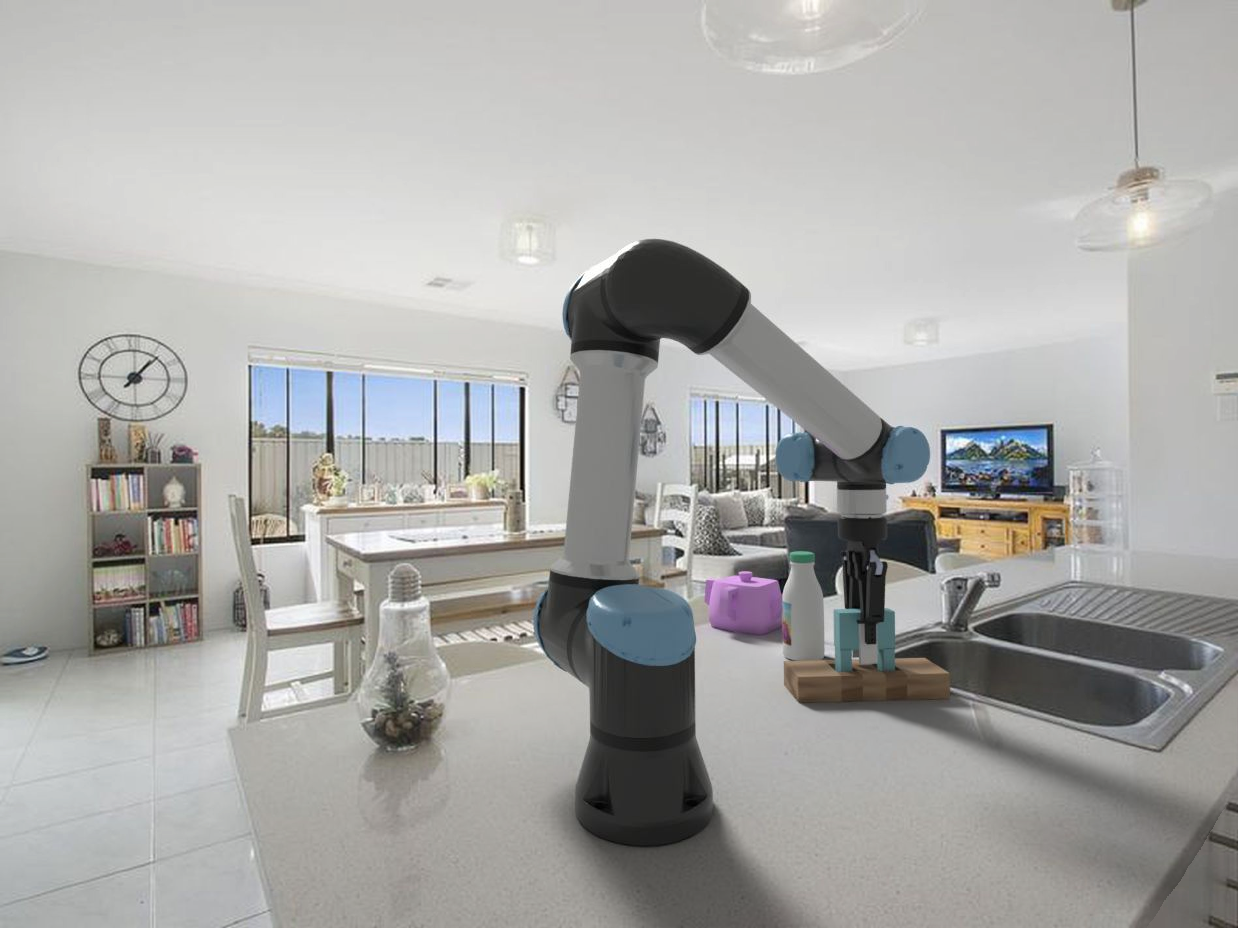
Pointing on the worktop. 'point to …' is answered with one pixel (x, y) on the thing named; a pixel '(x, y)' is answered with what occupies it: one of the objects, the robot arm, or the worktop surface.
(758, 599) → the teakettle
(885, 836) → the worktop surface
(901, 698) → the wooden slotted block
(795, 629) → the milk bottle
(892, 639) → the clip
